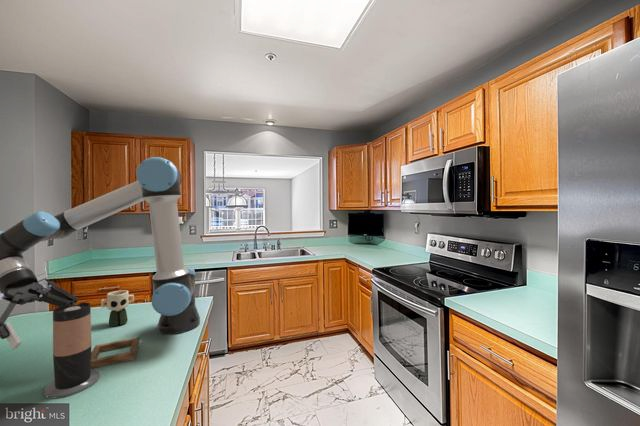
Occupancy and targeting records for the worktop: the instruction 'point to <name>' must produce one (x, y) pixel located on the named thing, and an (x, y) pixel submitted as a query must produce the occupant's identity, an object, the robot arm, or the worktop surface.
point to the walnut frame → (114, 358)
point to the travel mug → (71, 345)
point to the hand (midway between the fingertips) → (50, 334)
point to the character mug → (117, 306)
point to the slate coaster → (54, 392)
